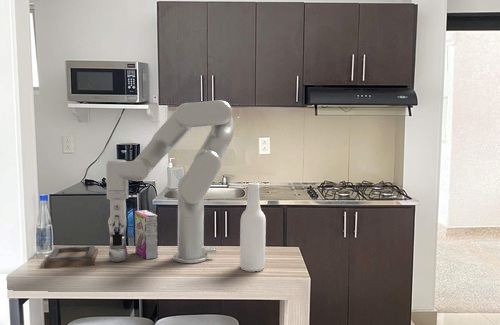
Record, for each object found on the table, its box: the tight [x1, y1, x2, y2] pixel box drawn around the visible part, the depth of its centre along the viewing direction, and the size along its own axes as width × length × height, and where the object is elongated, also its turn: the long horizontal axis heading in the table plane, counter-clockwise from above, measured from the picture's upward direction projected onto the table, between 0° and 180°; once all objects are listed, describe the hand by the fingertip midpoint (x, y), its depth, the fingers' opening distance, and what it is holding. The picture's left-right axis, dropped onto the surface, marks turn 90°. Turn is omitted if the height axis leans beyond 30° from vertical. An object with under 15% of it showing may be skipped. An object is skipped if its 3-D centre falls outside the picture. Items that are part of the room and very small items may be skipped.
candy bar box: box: [134, 209, 159, 261], centre depth 173 cm, size 11×5×16 cm, turn 34°
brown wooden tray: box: [44, 245, 99, 269], centre depth 167 cm, size 16×16×3 cm
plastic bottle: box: [107, 215, 128, 262], centre depth 166 cm, size 6×7×20 cm
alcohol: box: [239, 182, 267, 273], centre depth 159 cm, size 9×9×30 cm
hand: (117, 242), depth 166 cm, fingers open, 7 cm apart
